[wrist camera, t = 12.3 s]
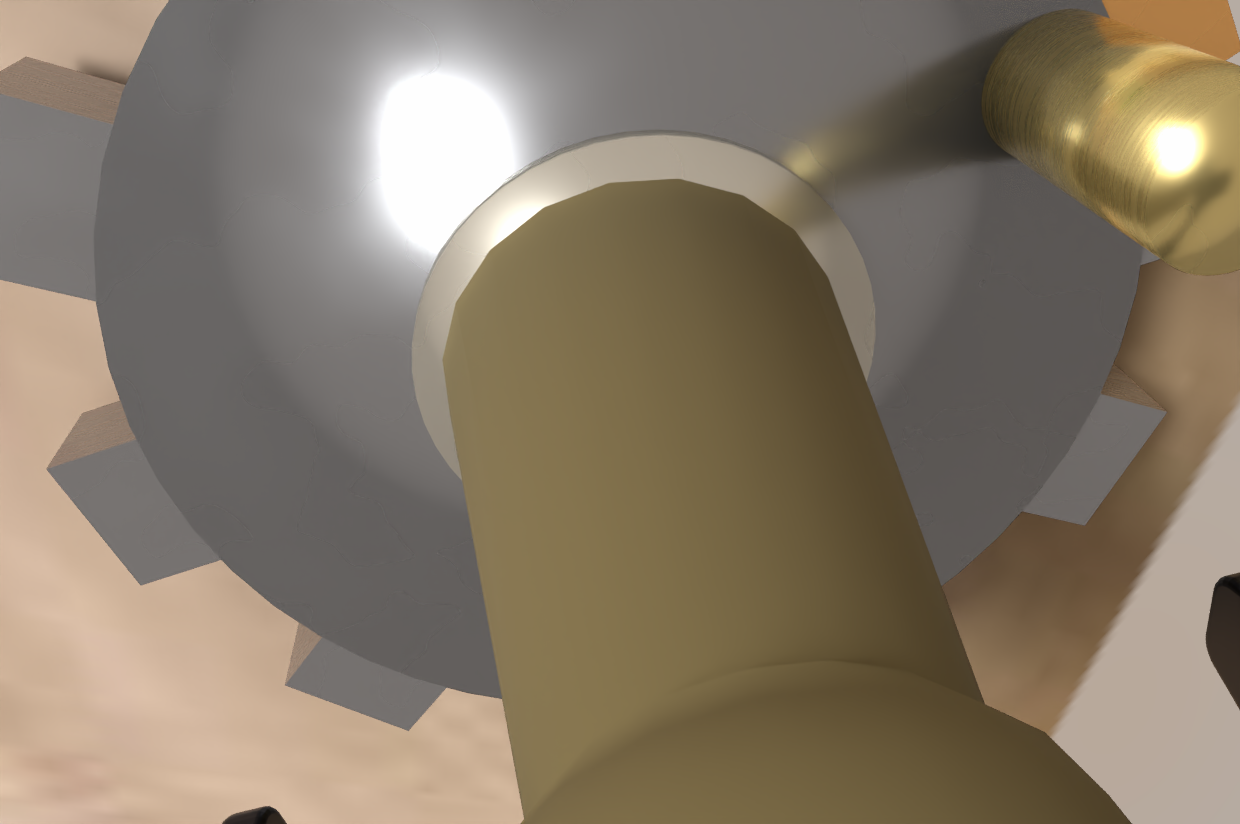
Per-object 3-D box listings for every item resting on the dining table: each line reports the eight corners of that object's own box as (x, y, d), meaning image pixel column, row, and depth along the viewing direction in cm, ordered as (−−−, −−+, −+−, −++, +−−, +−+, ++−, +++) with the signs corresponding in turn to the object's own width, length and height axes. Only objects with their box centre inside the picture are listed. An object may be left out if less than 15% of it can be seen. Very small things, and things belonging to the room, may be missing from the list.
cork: (918, 273, 14) (1703, 1152, 5) (722, 566, 17) (1001, 1488, 8) (539, 104, 12) (697, 1034, 3) (386, 465, 15) (225, 1537, 6)
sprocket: (1284, 372, 19) (1571, 580, 14) (534, 791, 23) (547, 1066, 18) (861, -875, 10) (1256, -1581, 5) (-253, 201, 14) (-667, 429, 9)
